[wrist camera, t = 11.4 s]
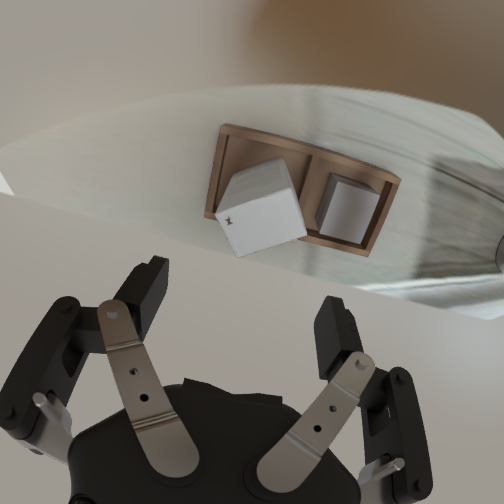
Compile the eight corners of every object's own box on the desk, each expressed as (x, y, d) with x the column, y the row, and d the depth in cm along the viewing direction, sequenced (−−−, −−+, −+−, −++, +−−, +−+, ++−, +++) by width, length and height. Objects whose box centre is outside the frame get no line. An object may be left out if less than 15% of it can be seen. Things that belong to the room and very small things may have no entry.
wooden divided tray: (391, 172, 30) (408, 184, 25) (361, 245, 35) (372, 266, 31) (225, 123, 28) (217, 127, 24) (209, 207, 34) (199, 224, 30)
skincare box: (247, 205, 32) (235, 260, 22) (232, 173, 30) (211, 213, 20) (296, 188, 31) (309, 237, 21) (283, 154, 29) (290, 185, 19)
